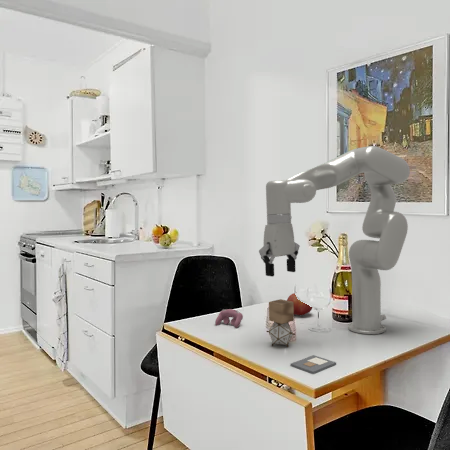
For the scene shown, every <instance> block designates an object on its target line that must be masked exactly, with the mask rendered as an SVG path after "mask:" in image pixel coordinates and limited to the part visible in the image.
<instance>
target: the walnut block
mask: <svg viewBox="0 0 450 450" xmlns="http://www.w3.org/2000/svg"><path fill="white" fill-rule="evenodd" d="M294 318H295V317H294V306H293V302H292V301H287V299H281V298H280V299H276V300H272V301H268V321H270V322H273V323H274V322H277V323H280V324H283V323H287V322H289V323H290V322H294V321H295V320H294Z"/></svg>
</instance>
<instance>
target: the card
mask: <svg viewBox="0 0 450 450" xmlns="http://www.w3.org/2000/svg"><path fill="white" fill-rule="evenodd" d="M289 364H290V366H291V367H293V368H296V369H298V370H301V371H304V372H306V373H309V374H312V375H315V374H317V373H319V372H322V371H324V370H326V369H329V368H332V367H334V366H337V362H336V361H333V360H329V359H327V358H325V357H321V356H317V355H315V354H313V355H310V356H308V357H304V358H302V359H298V360H297V361H293V362H291V363H289Z"/></svg>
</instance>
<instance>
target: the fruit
mask: <svg viewBox="0 0 450 450" xmlns="http://www.w3.org/2000/svg"><path fill="white" fill-rule="evenodd" d="M295 293H296V292H293V293H291V294H290V295H289V296H288V297H287V299H286V300H287V301H292V302H293V306H294V315H295V316H300V315H301V316H305V315H307V314H309V313H310V312H311V311H312V310H313V307H310V306H309V305H307V304H305V303H303V302H301V301H300V300H298V299H297V297H296V295H295Z"/></svg>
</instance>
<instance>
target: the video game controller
mask: <svg viewBox="0 0 450 450" xmlns="http://www.w3.org/2000/svg"><path fill="white" fill-rule="evenodd" d="M243 317H244V315H243V313H241V312H239V311H238V310H236V309H232V308H229V309H222V310H221V311H220V312H219V314H217V317H216V319H215V321H214V323H215V325H216V326H219V325H220V324H221V323H222V321H223V323H224V324H225V325H229V324H230V325H232V326H234V329H237V328H239V326H240V325H241V323H242V321H243ZM230 318H231V319H230Z"/></svg>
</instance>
